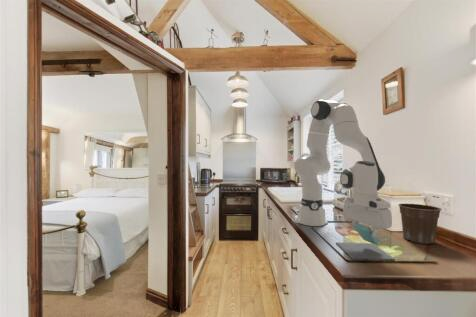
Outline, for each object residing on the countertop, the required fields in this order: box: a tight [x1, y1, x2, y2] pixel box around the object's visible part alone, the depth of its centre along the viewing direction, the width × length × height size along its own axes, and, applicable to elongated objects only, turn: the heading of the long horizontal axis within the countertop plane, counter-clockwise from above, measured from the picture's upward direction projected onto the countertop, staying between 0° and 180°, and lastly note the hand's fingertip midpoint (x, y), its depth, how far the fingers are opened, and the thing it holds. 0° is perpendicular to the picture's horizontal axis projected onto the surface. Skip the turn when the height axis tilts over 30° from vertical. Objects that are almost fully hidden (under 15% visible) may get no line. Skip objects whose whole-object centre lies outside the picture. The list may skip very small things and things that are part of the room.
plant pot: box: [398, 203, 442, 245], centre depth 112 cm, size 16×16×16 cm
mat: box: [335, 241, 396, 261], centre depth 96 cm, size 16×16×1 cm
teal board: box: [353, 222, 381, 246], centre depth 97 cm, size 2×6×9 cm
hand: (364, 233), depth 97 cm, fingers closed on teal board, 6 cm apart
